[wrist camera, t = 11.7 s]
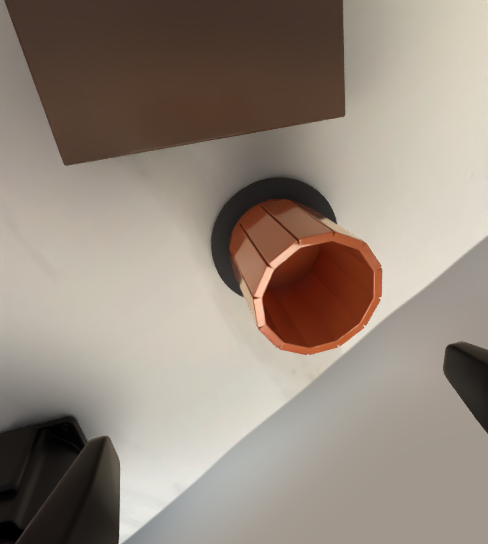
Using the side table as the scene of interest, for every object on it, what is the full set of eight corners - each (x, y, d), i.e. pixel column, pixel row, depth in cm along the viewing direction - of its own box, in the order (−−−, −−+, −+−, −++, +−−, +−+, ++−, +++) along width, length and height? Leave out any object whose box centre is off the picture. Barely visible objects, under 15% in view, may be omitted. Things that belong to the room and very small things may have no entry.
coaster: (336, 283, 23) (340, 288, 22) (223, 310, 22) (225, 315, 21) (331, 166, 20) (336, 167, 19) (199, 191, 19) (200, 194, 18)
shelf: (315, 116, 18) (346, 116, 15) (83, 157, 17) (63, 166, 14) (302, -118, 14) (339, -183, 11) (-1, -90, 13) (-54, -156, 10)
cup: (323, 278, 22) (380, 336, 16) (236, 298, 21) (263, 367, 15) (318, 189, 19) (384, 220, 14) (220, 209, 19) (245, 250, 13)
